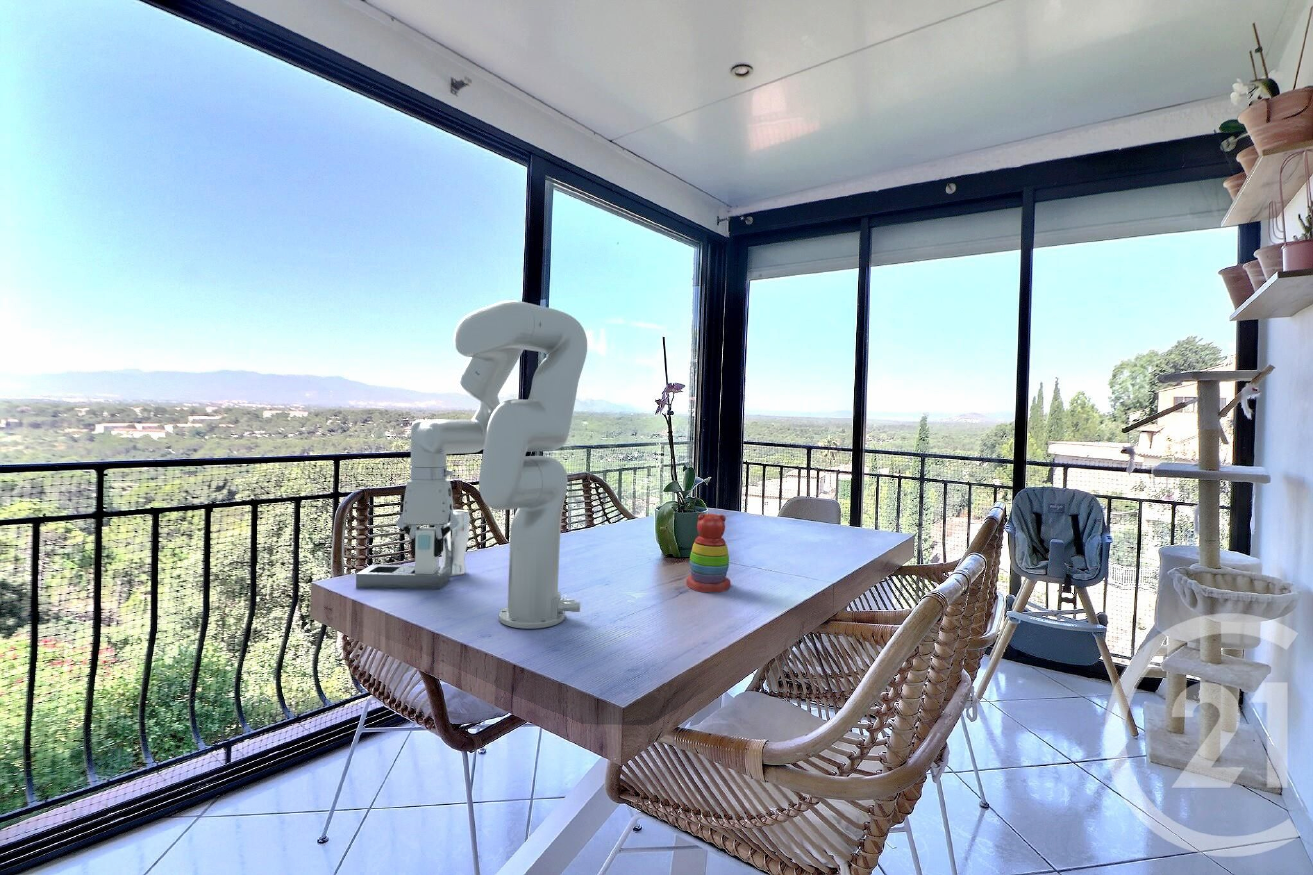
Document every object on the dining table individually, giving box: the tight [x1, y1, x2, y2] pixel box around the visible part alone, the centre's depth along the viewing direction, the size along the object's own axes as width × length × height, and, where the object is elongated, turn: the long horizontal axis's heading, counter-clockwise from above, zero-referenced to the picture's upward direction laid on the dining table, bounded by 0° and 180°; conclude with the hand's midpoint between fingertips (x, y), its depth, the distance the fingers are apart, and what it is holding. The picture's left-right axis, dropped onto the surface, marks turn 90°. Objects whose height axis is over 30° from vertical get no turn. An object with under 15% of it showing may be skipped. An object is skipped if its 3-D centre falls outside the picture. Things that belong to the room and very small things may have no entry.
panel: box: [355, 564, 451, 591], centre depth 135 cm, size 18×8×3 cm, turn 93°
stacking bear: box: [685, 513, 732, 593], centre depth 143 cm, size 11×10×18 cm
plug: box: [414, 527, 440, 574], centre depth 135 cm, size 4×5×10 cm
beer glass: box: [440, 509, 470, 577], centre depth 146 cm, size 7×7×15 cm
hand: (427, 554), depth 135 cm, fingers closed on plug, 4 cm apart
